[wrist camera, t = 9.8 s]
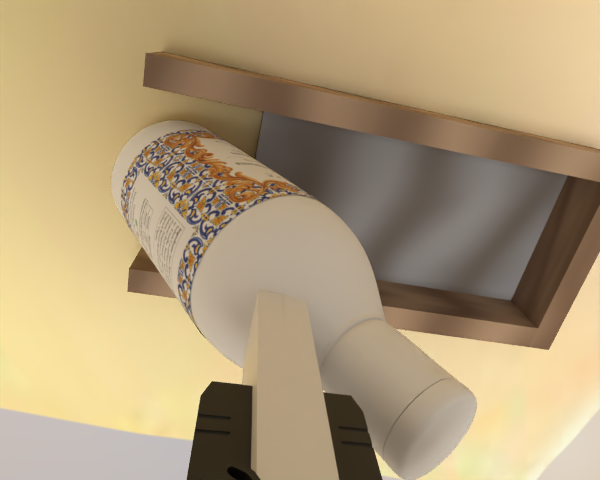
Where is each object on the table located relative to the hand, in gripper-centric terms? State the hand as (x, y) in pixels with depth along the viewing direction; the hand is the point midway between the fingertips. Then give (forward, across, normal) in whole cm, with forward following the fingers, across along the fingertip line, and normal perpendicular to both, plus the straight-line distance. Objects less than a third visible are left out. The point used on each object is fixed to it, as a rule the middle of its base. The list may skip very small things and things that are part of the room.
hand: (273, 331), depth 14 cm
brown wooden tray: (+16, +7, 0) cm, 17 cm away
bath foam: (+14, -6, 0) cm, 15 cm away
